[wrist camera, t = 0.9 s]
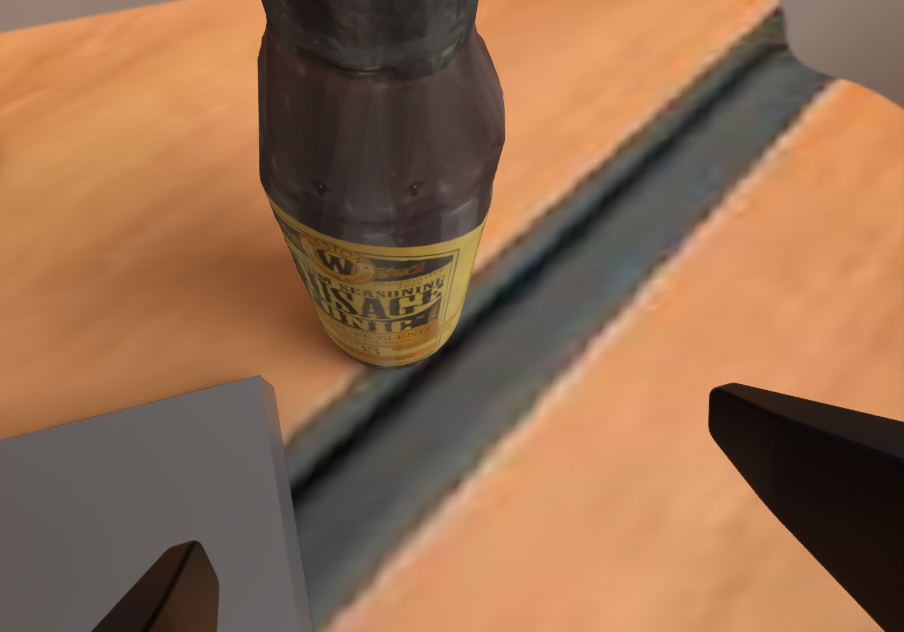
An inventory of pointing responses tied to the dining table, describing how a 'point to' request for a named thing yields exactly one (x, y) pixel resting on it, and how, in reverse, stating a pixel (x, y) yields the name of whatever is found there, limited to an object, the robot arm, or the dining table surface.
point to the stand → (152, 511)
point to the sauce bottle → (380, 163)
